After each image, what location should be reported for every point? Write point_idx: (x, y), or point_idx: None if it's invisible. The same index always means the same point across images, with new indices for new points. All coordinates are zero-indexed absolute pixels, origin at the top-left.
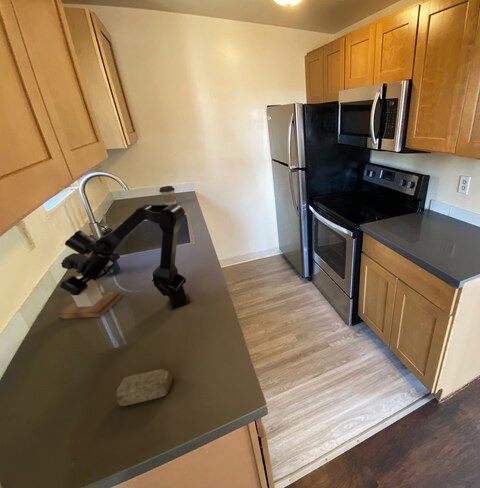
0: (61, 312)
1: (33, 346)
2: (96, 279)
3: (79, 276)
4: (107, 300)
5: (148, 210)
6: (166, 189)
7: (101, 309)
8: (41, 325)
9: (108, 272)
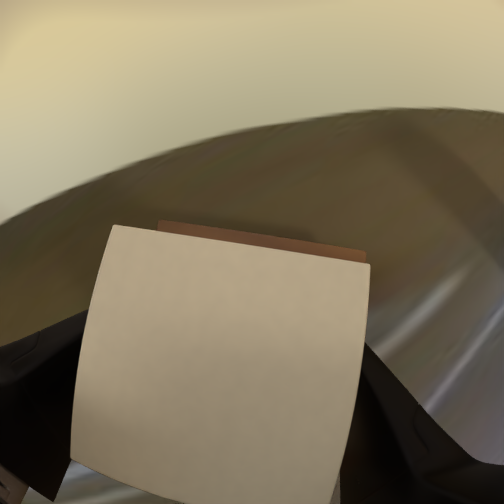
0: (167, 231)
1: (33, 235)
2: (342, 473)
3: (359, 303)
4: None
5: None
6: None
7: None
8: (154, 175)
9: None
